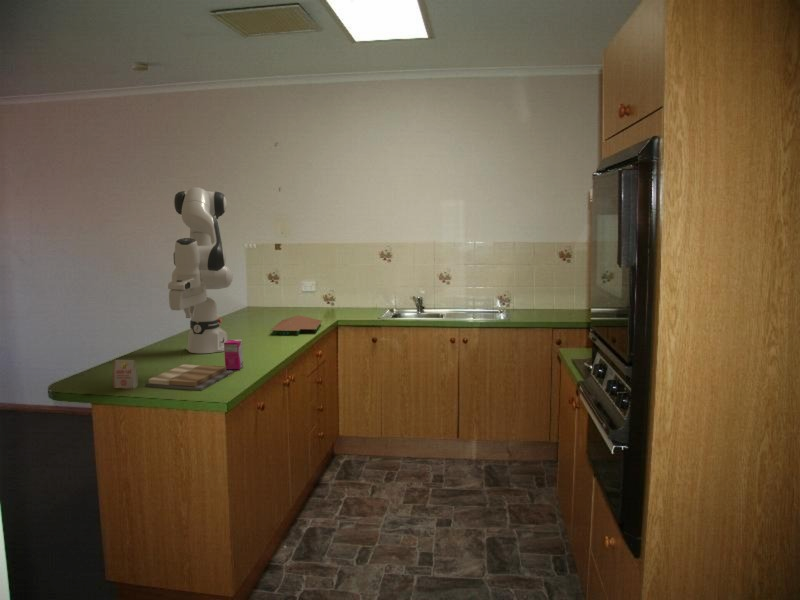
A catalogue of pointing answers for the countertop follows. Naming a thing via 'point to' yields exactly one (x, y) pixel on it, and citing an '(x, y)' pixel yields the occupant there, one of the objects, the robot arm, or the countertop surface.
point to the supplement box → (233, 354)
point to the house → (296, 325)
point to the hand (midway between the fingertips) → (190, 317)
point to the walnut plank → (198, 375)
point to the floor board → (199, 387)
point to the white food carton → (125, 374)
